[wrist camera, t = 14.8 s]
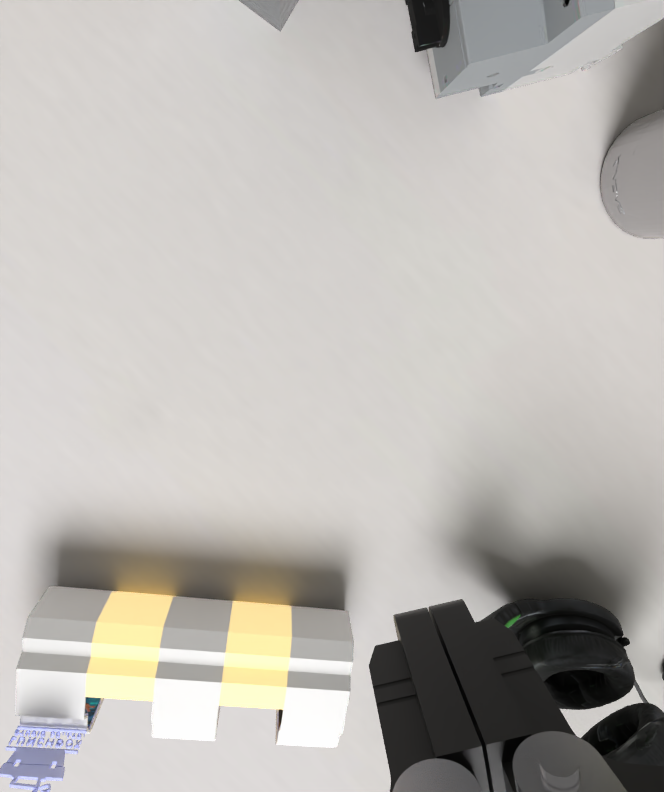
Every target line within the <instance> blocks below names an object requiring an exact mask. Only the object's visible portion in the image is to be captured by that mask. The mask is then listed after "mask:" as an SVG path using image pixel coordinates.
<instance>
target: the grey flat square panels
mask: <svg viewBox="0 0 664 792" xmlns="http://www.w3.org/2000/svg"><path fill="white" fill-rule="evenodd" d="M239 1H241V2H242V3H243V4H245V5H246V6H247V7H249V8H250V9H251V10H253V11H254V12H255V13H257V14H258V15H259V16H260V17H262V18H263V19H264V20H266V21H267V22H268V23H270V24H271V25H272V26H274V27H275V28H276V29H278V30H279V31H281V29H282V28H283V26H284V24H285V22H286V21H287V19H288V17H289V16H290V14H291V12H292V10H293V9H294V7H295V5H296V3H297V2H298V0H239Z"/></svg>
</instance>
